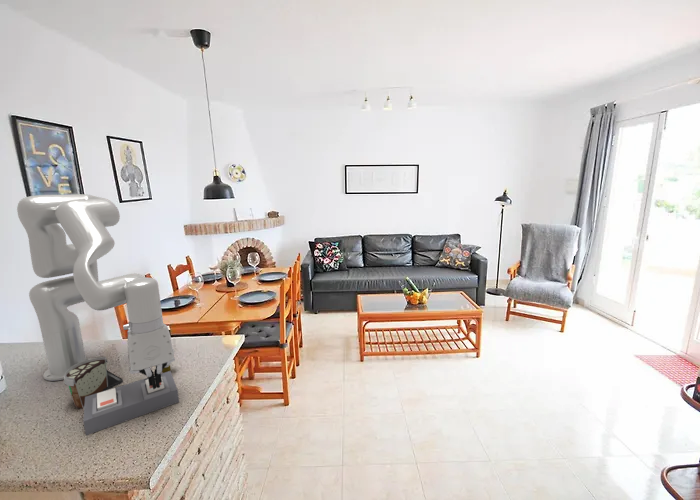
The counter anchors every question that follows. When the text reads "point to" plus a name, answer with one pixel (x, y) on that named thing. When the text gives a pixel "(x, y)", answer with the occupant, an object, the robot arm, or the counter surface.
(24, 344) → the counter surface
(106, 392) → the rocker
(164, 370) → the light bulb
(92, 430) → the rocker switch panel
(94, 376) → the food container
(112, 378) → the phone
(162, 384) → the rocker
